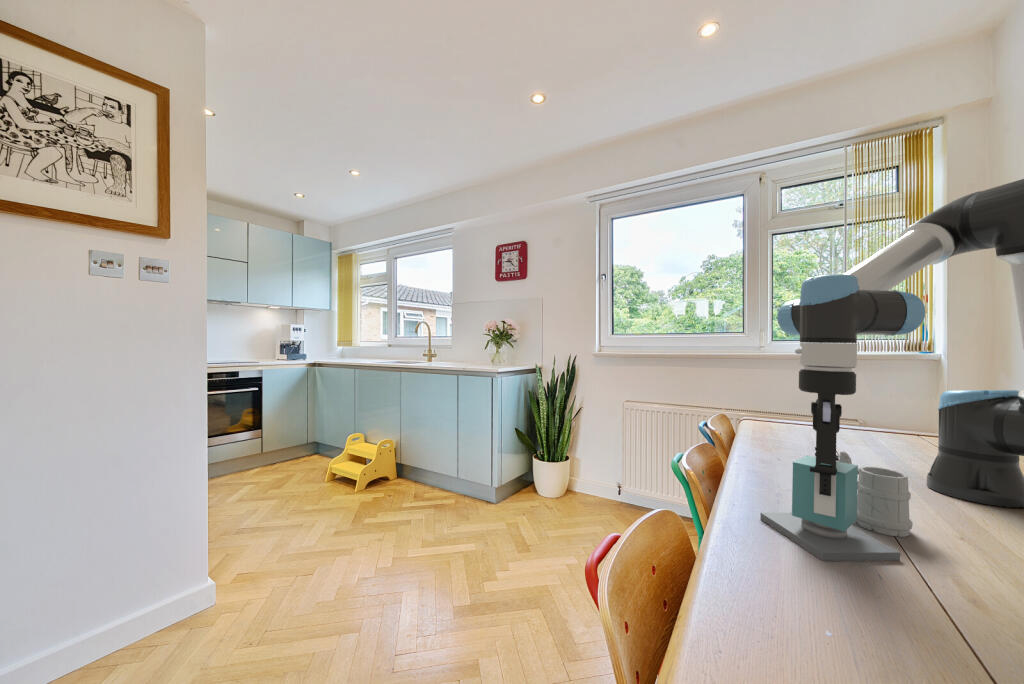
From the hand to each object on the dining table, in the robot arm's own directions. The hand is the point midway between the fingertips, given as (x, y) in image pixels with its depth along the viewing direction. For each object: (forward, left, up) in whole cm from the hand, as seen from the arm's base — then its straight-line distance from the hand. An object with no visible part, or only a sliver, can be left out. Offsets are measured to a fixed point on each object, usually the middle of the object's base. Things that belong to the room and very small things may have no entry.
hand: (824, 505), depth 67 cm
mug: (-13, -5, -6) cm, 15 cm away
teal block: (0, 0, -2) cm, 2 cm away
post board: (0, 0, -5) cm, 5 cm away
